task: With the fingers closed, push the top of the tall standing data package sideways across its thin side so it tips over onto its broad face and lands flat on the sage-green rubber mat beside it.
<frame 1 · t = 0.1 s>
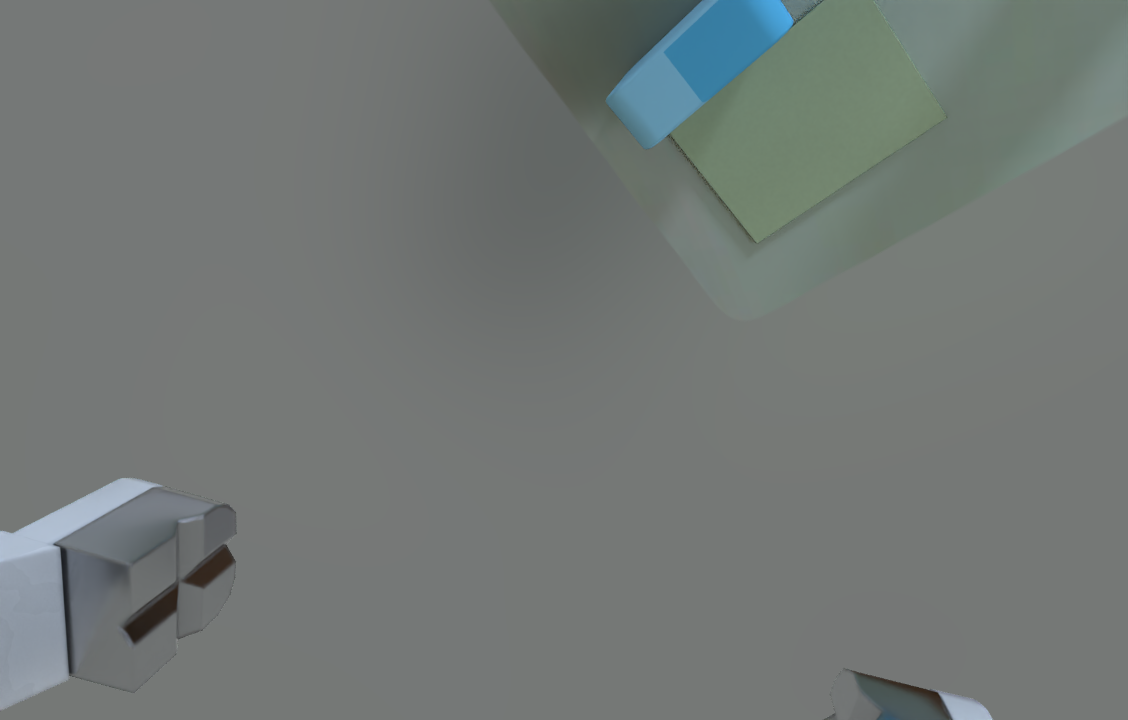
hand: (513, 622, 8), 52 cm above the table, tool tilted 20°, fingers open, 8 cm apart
mat: (800, 124, 52), on the table
data package: (701, 41, 50), on the table
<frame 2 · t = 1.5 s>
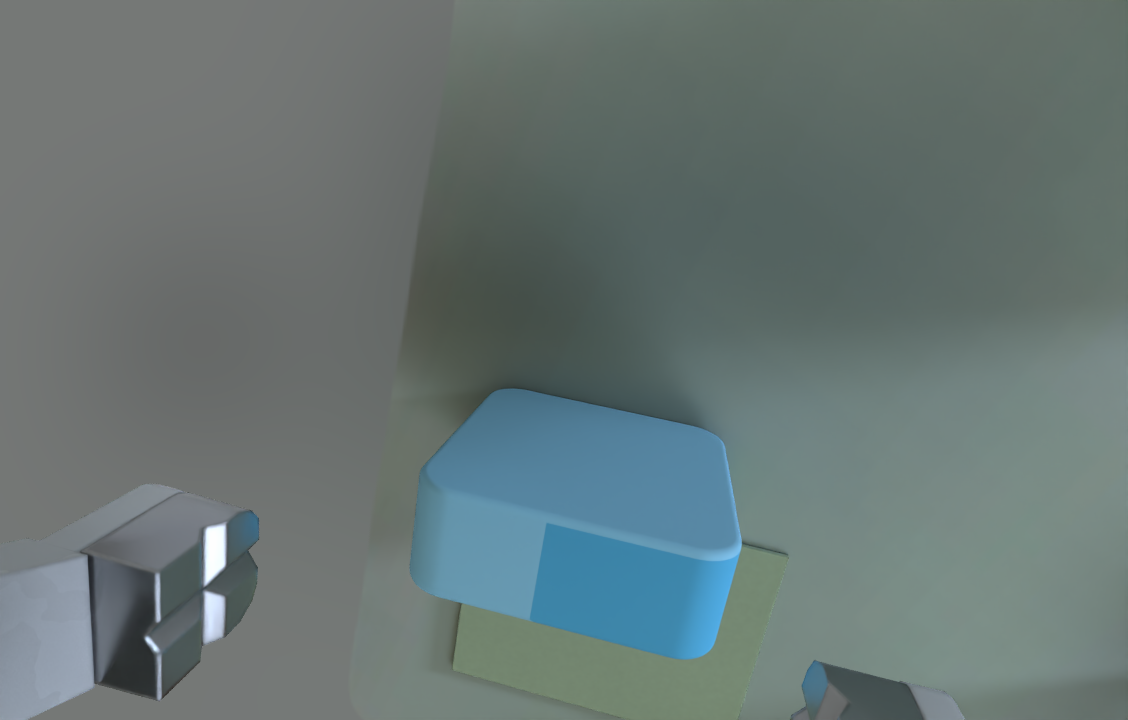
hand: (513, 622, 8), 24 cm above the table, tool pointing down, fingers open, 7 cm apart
mat: (607, 615, 36), on the table
data package: (601, 443, 34), on the table
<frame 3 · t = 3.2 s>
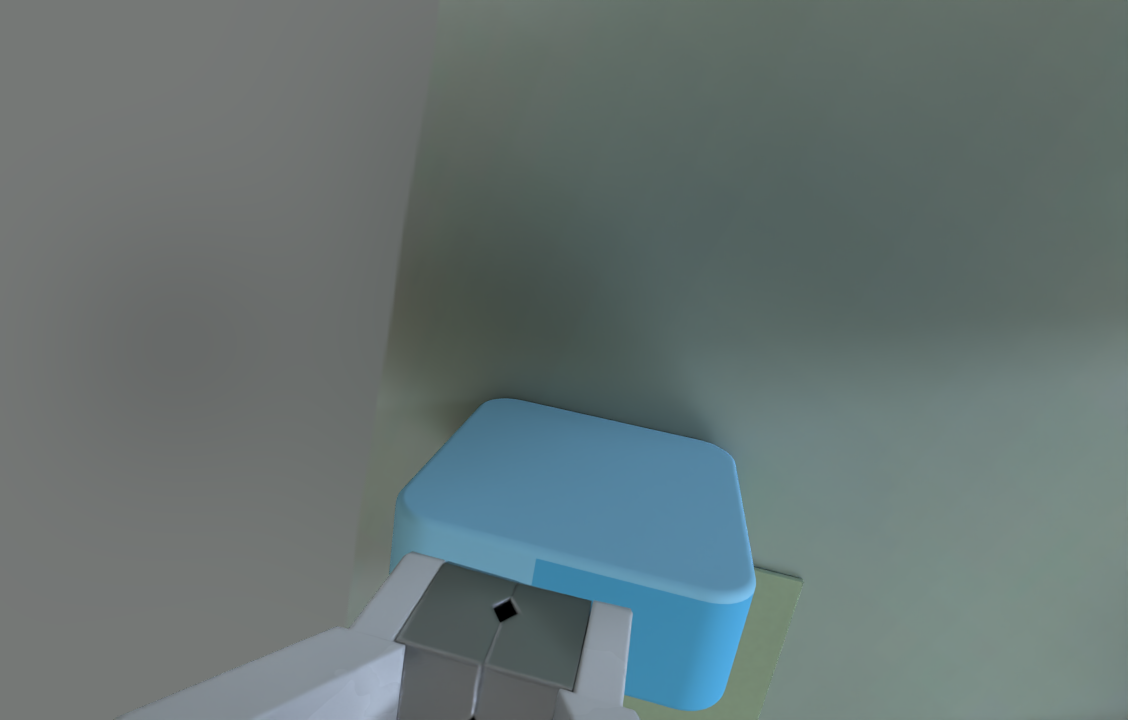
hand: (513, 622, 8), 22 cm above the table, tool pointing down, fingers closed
mat: (607, 640, 34), on the table
data package: (601, 458, 31), on the table
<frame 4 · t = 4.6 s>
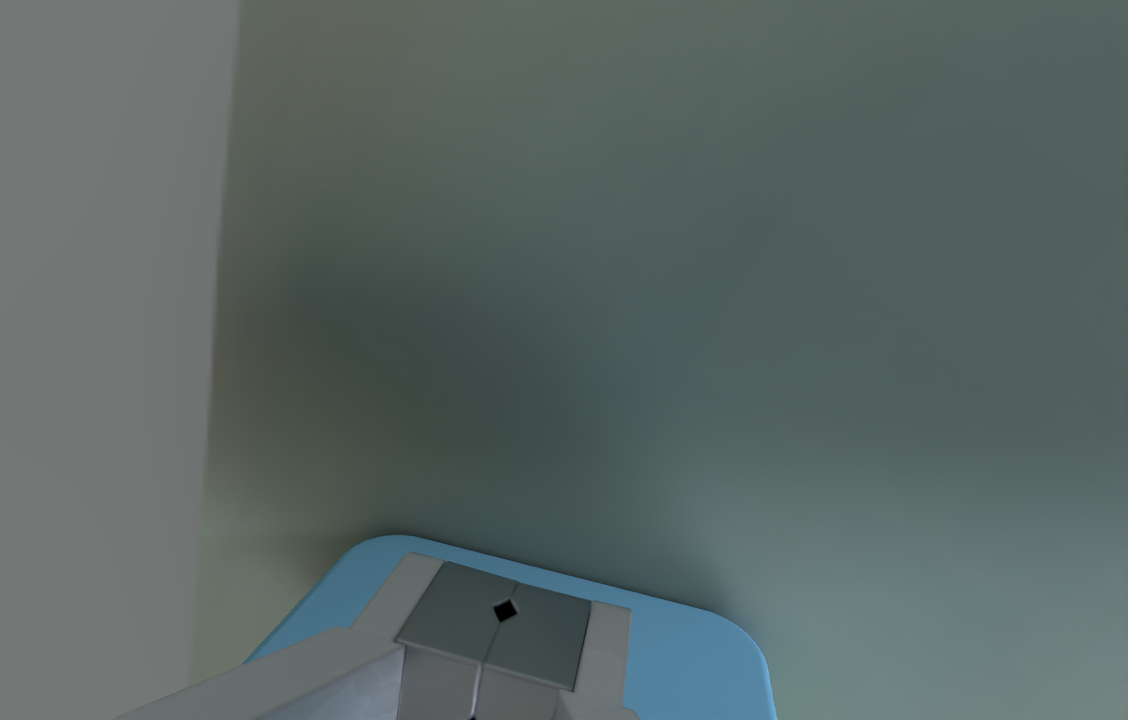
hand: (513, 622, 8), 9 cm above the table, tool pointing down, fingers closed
data package: (547, 626, 20), on the table
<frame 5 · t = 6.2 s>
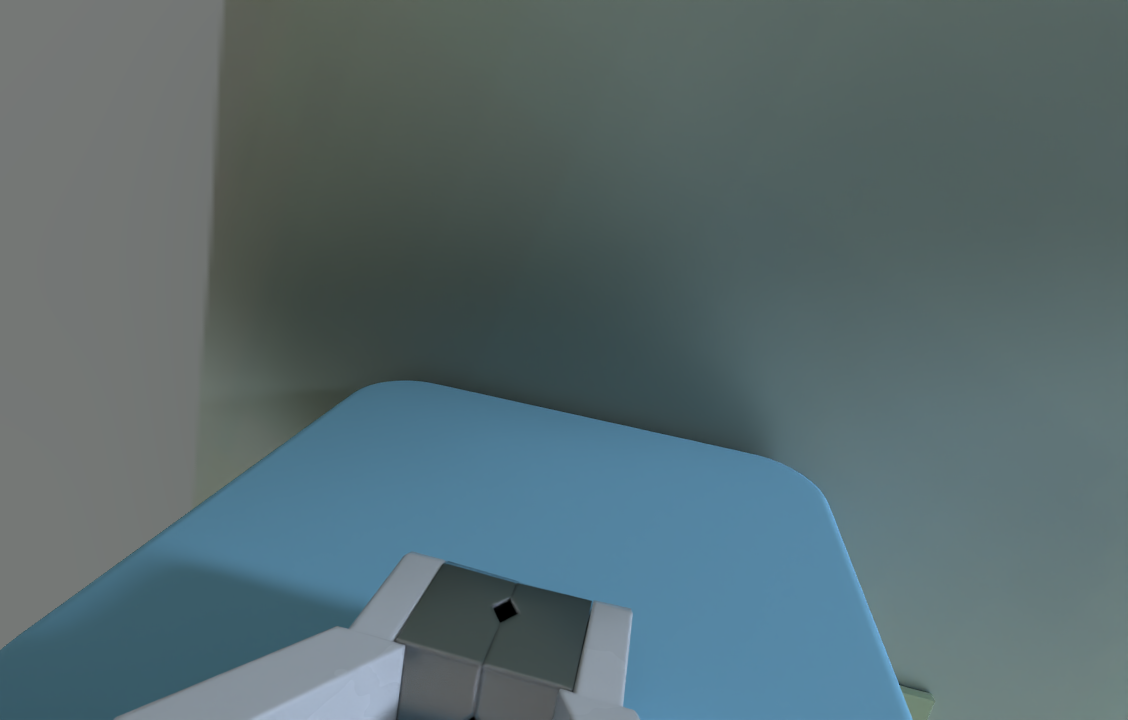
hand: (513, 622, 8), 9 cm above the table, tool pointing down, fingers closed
data package: (577, 483, 18), on the table
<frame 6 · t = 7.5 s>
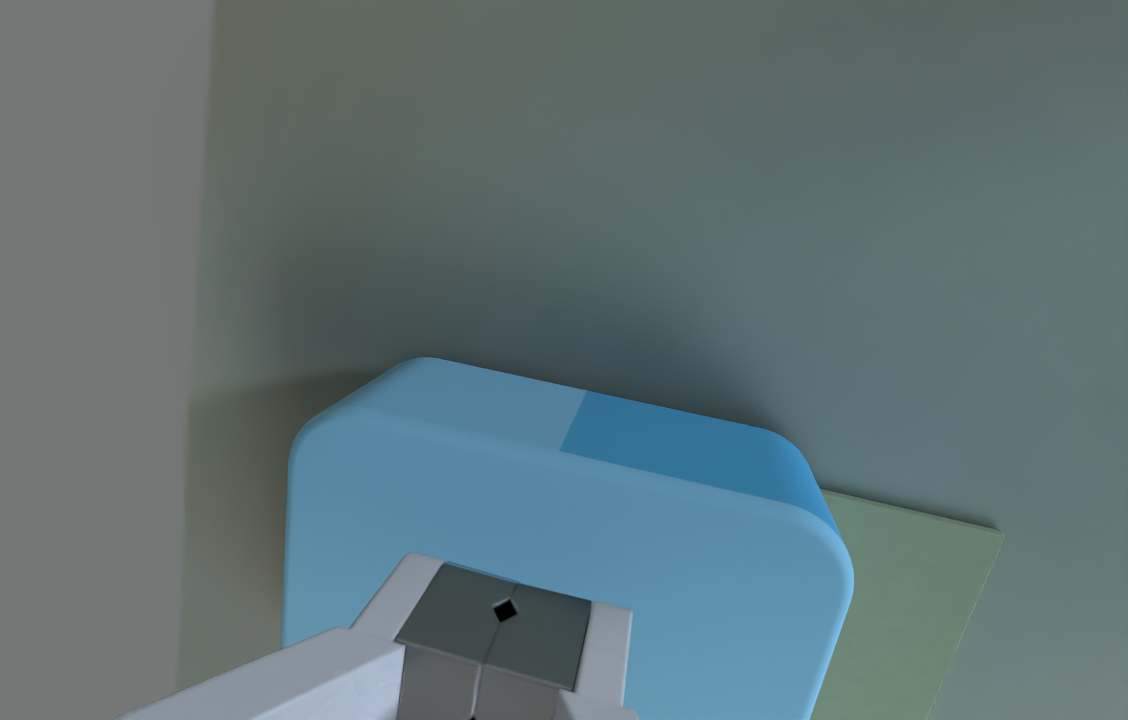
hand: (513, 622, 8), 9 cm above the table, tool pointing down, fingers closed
mat: (622, 647, 19), on the table
data package: (583, 410, 14), point 3 cm above the table, touching mat
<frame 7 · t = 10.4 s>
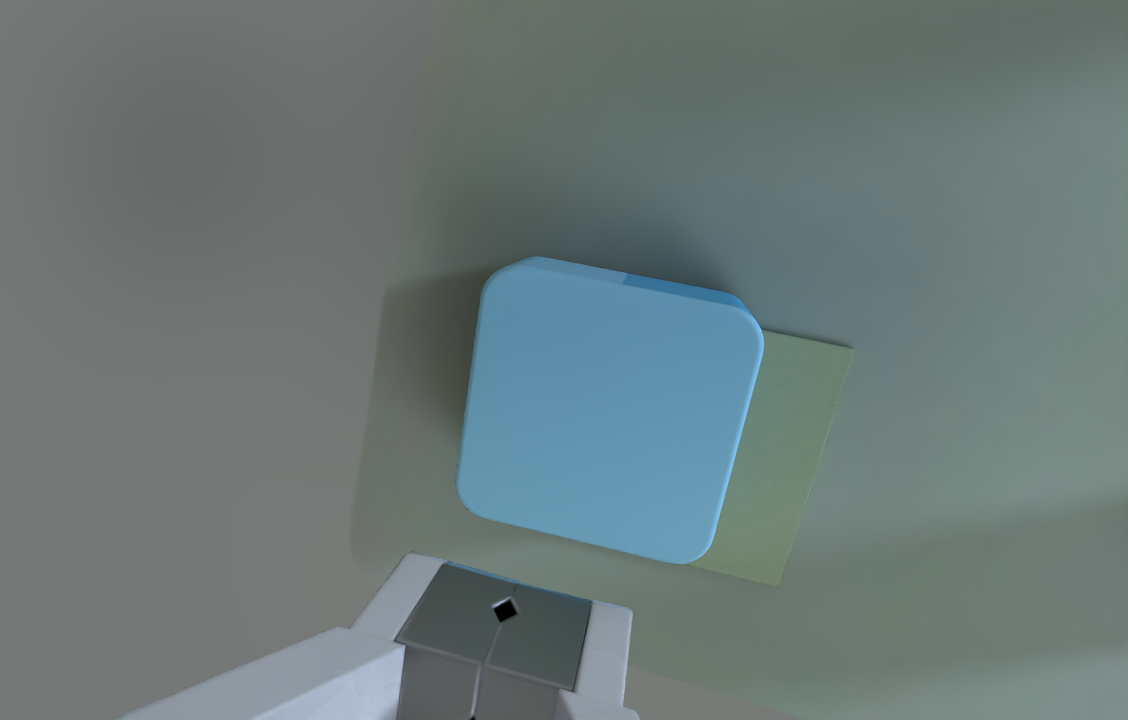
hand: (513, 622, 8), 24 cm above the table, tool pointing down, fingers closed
mat: (644, 434, 32), on the table
data package: (630, 274, 28), point 3 cm above the table, touching mat
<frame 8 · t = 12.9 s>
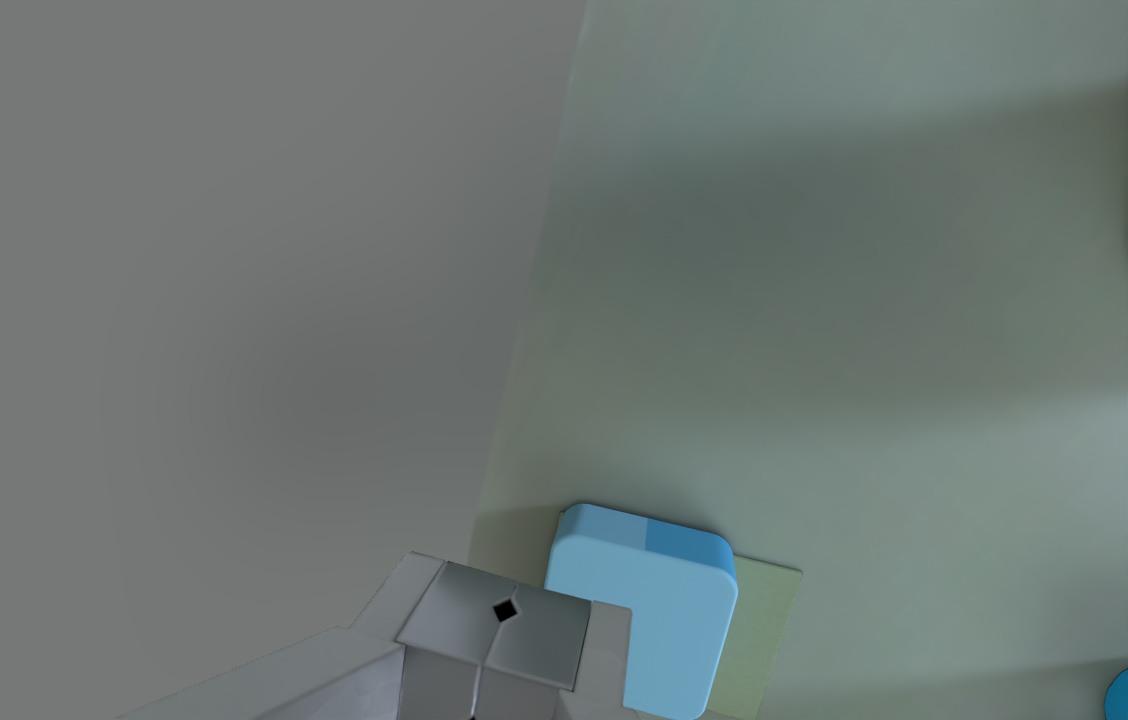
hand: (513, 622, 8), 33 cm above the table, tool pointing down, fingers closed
mat: (658, 617, 46), on the table
data package: (649, 531, 41), point 3 cm above the table, touching mat
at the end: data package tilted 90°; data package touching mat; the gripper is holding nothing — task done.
